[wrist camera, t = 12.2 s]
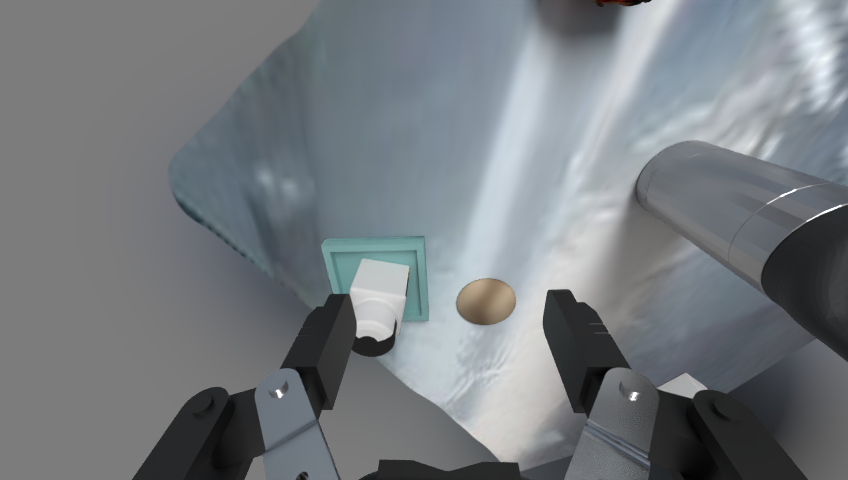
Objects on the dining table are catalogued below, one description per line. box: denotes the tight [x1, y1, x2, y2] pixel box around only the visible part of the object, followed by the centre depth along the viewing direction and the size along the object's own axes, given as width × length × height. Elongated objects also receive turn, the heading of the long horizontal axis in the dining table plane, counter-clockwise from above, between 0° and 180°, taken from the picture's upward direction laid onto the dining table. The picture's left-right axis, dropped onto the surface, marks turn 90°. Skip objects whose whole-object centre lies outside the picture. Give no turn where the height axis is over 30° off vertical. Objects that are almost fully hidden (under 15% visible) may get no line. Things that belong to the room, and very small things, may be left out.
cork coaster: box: [457, 279, 516, 325], centre depth 48 cm, size 9×9×1 cm
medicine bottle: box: [350, 258, 410, 357], centre depth 41 cm, size 7×7×12 cm
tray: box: [321, 236, 429, 321], centre depth 46 cm, size 14×14×2 cm
